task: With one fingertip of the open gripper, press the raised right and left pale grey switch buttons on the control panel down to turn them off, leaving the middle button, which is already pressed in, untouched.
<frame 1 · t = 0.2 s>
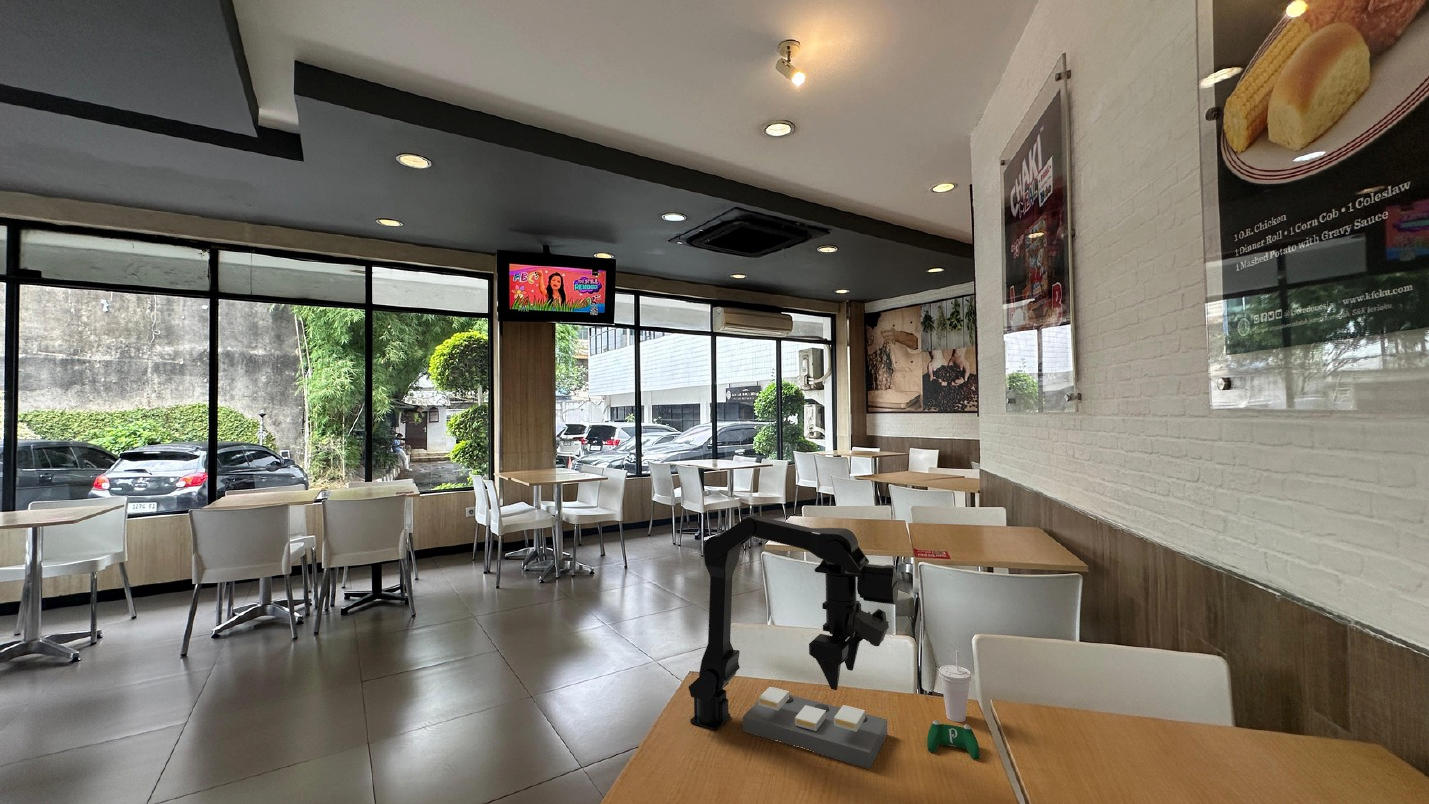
hand: (842, 679, 110), 14 cm above the table, tool pointing down, fingers open, 9 cm apart
control panel: (814, 732, 118), on the table
left button: (773, 698, 120), point 6 cm above the table, slide at 2.0 cm
right button: (849, 717, 112), point 6 cm above the table, slide at 2.0 cm
gaming controller: (952, 750, 112), on the table
middle button: (810, 717, 116), point 4 cm above the table, slide at 0.0 cm
smoothie: (956, 718, 123), on the table
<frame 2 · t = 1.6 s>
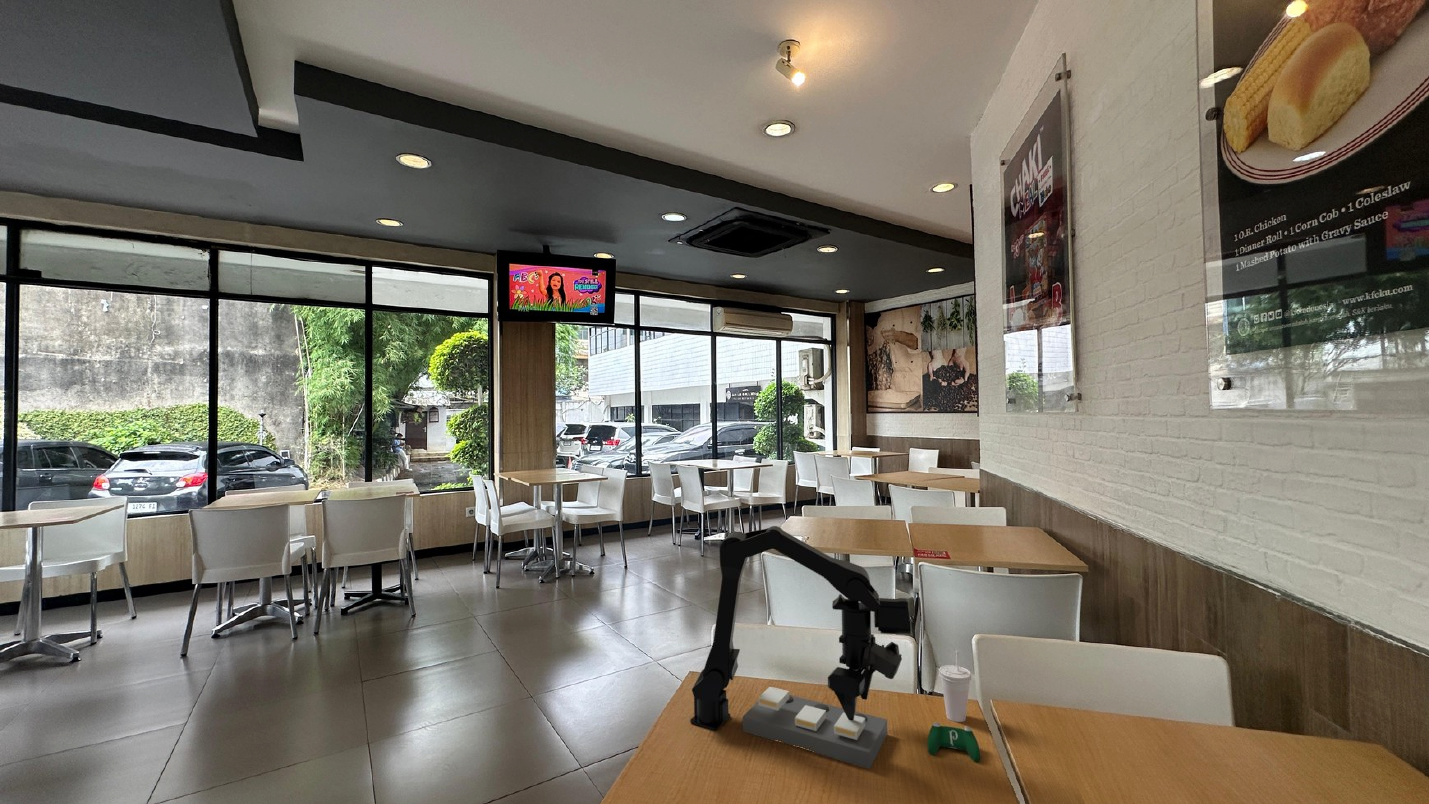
hand: (857, 708, 117), 5 cm above the table, tool pointing down, fingers open, 9 cm apart
right button: (849, 725, 112), point 4 cm above the table, slide at 0.5 cm, touching gripper
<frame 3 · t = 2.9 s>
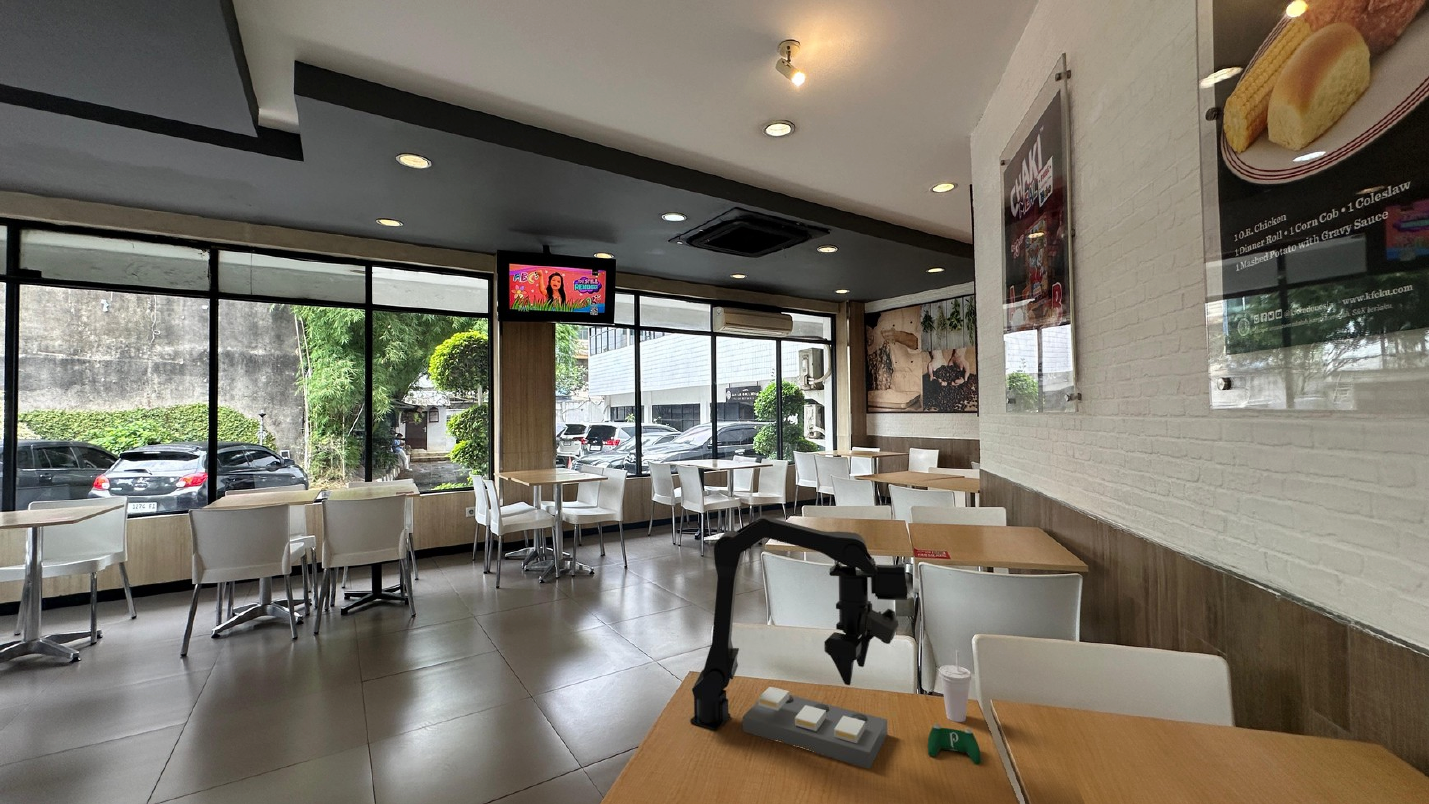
hand: (854, 675, 117), 12 cm above the table, tool pointing down, fingers open, 9 cm apart
right button: (849, 729, 112), point 4 cm above the table, slide at -0.1 cm
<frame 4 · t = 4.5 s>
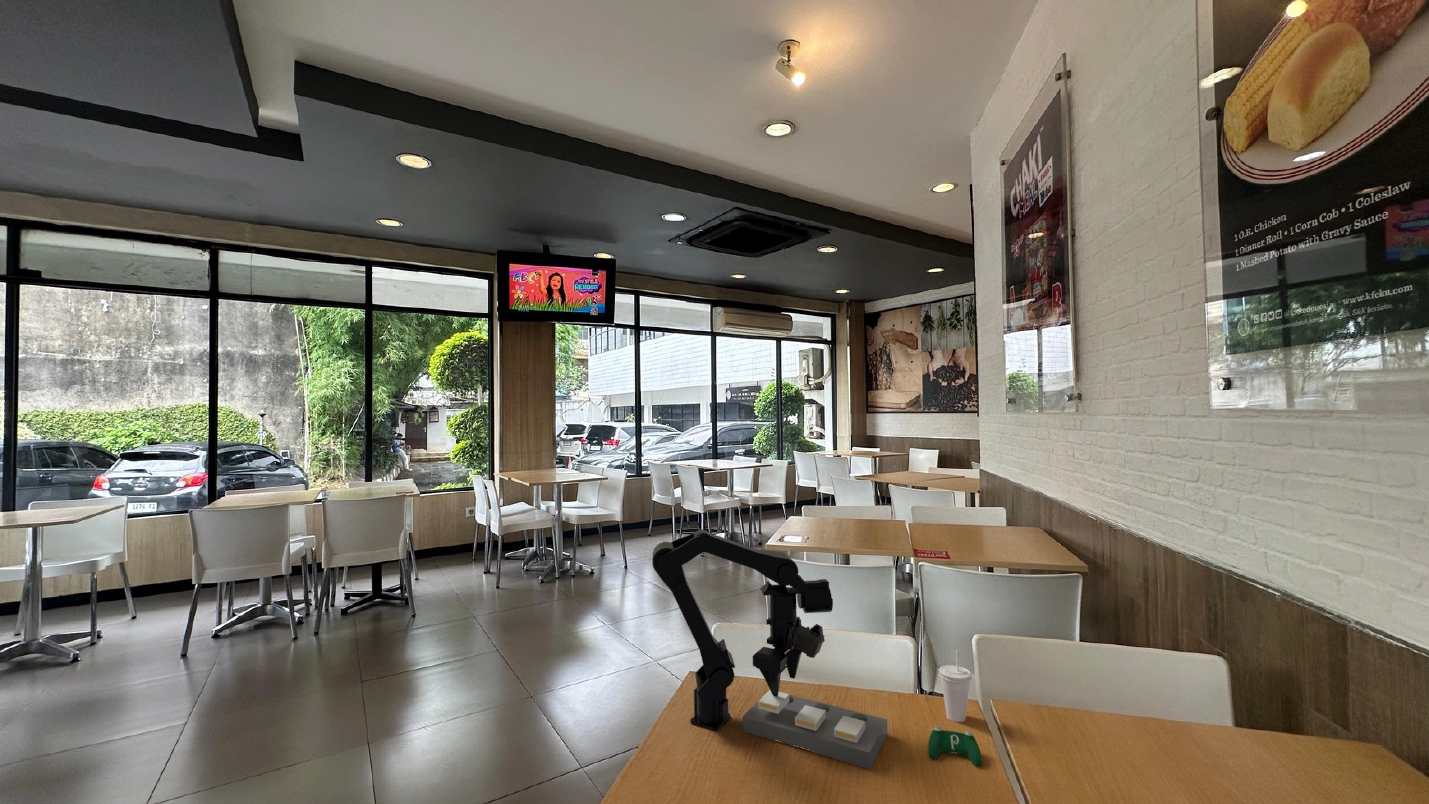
hand: (784, 686, 125), 6 cm above the table, tool pointing down, fingers open, 9 cm apart
left button: (773, 701, 120), point 5 cm above the table, slide at 1.4 cm, touching gripper
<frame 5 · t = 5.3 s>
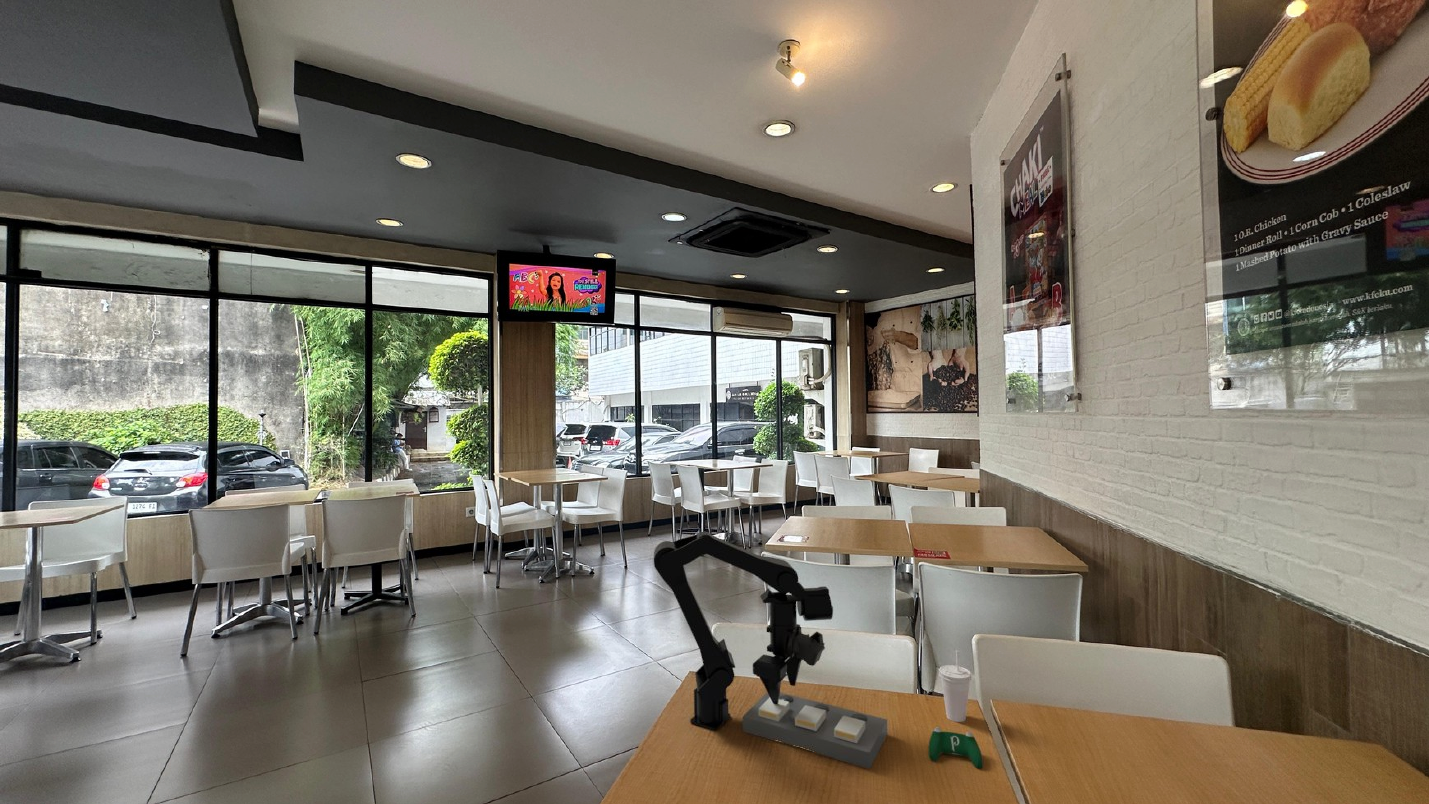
hand: (784, 694, 125), 4 cm above the table, tool pointing down, fingers open, 9 cm apart
left button: (773, 709, 120), point 4 cm above the table, slide at -0.2 cm, touching gripper, control panel
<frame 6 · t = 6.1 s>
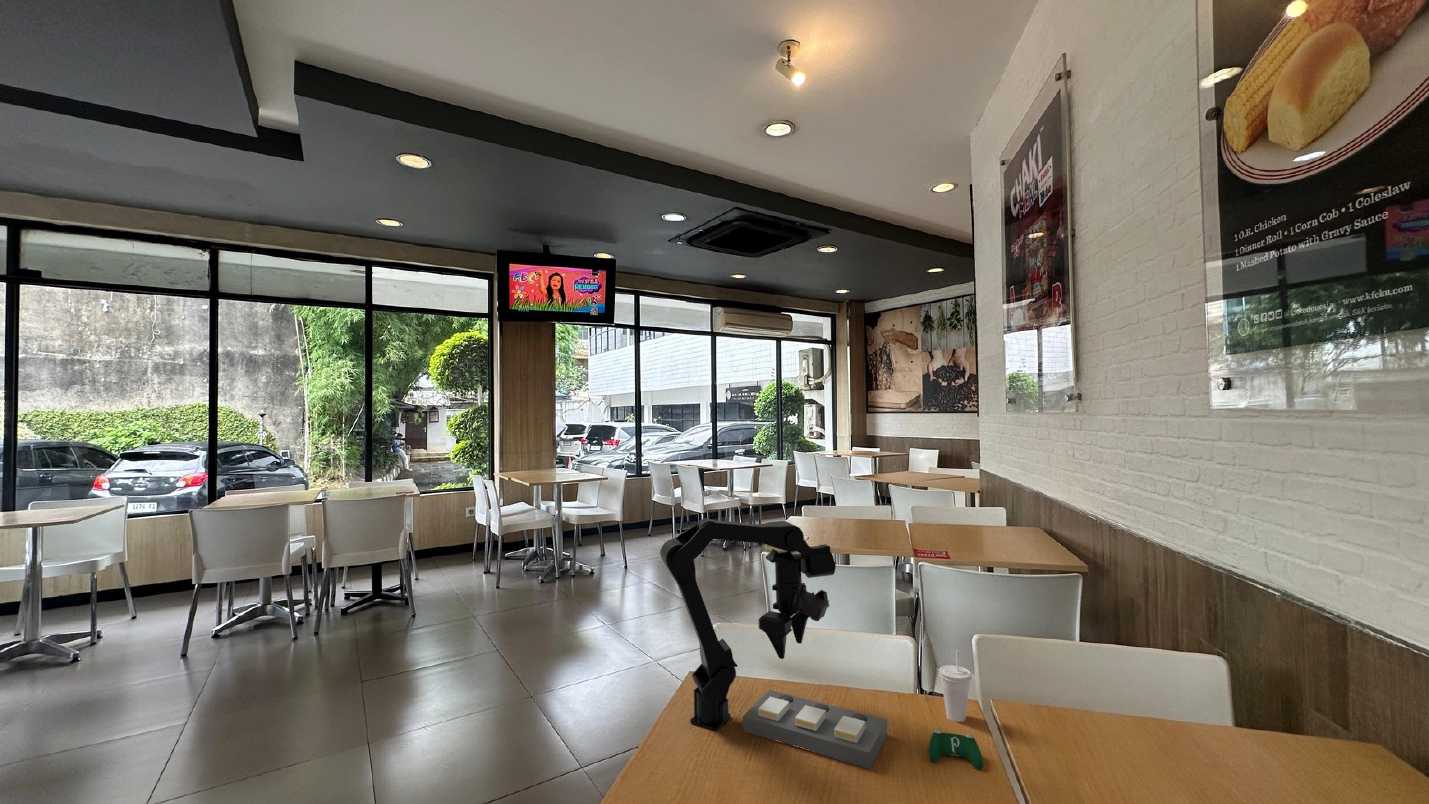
hand: (790, 650, 128), 12 cm above the table, tool pointing down, fingers open, 9 cm apart
left button: (773, 708, 120), point 4 cm above the table, slide at -0.1 cm
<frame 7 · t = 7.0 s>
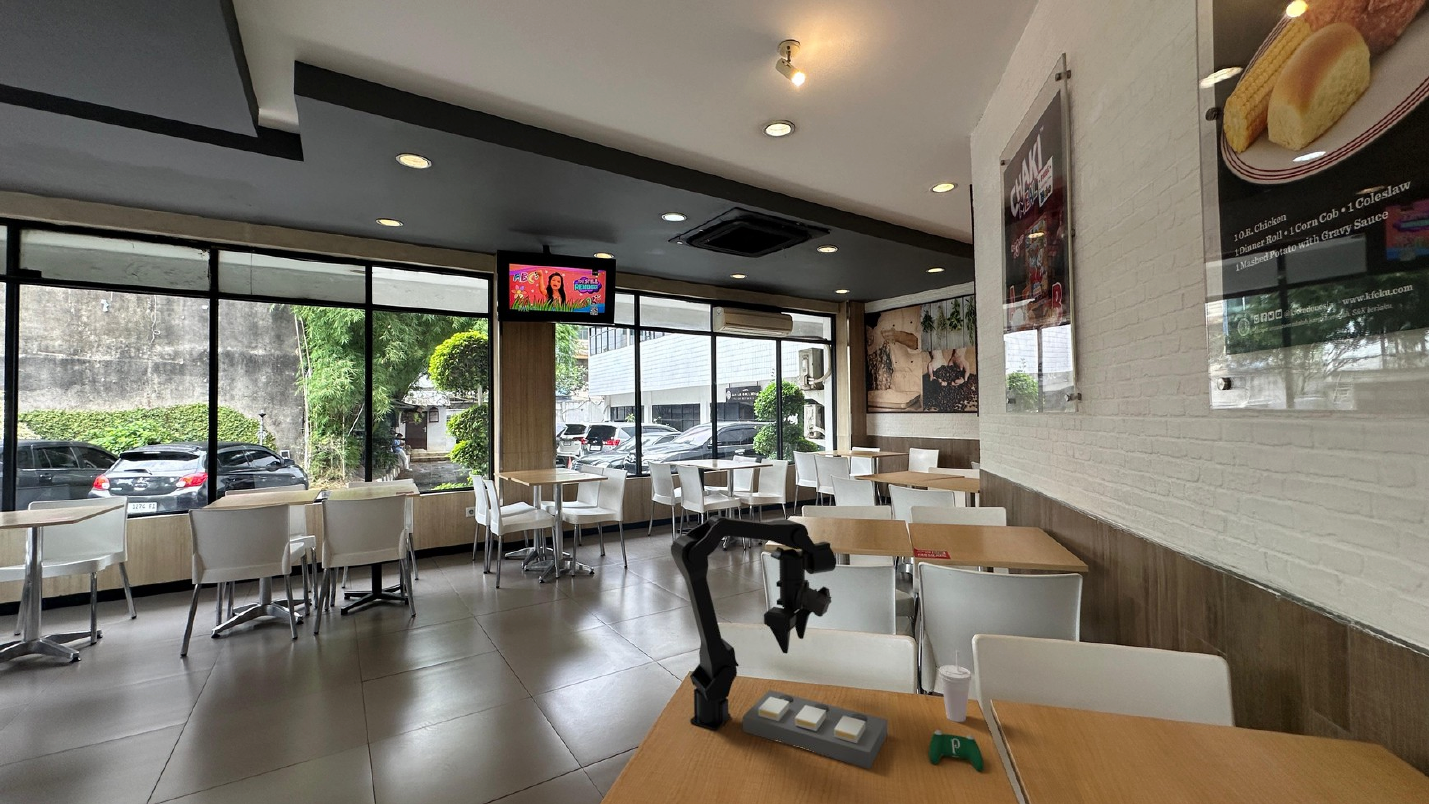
hand: (793, 645, 132), 12 cm above the table, tool pointing down, fingers open, 9 cm apart
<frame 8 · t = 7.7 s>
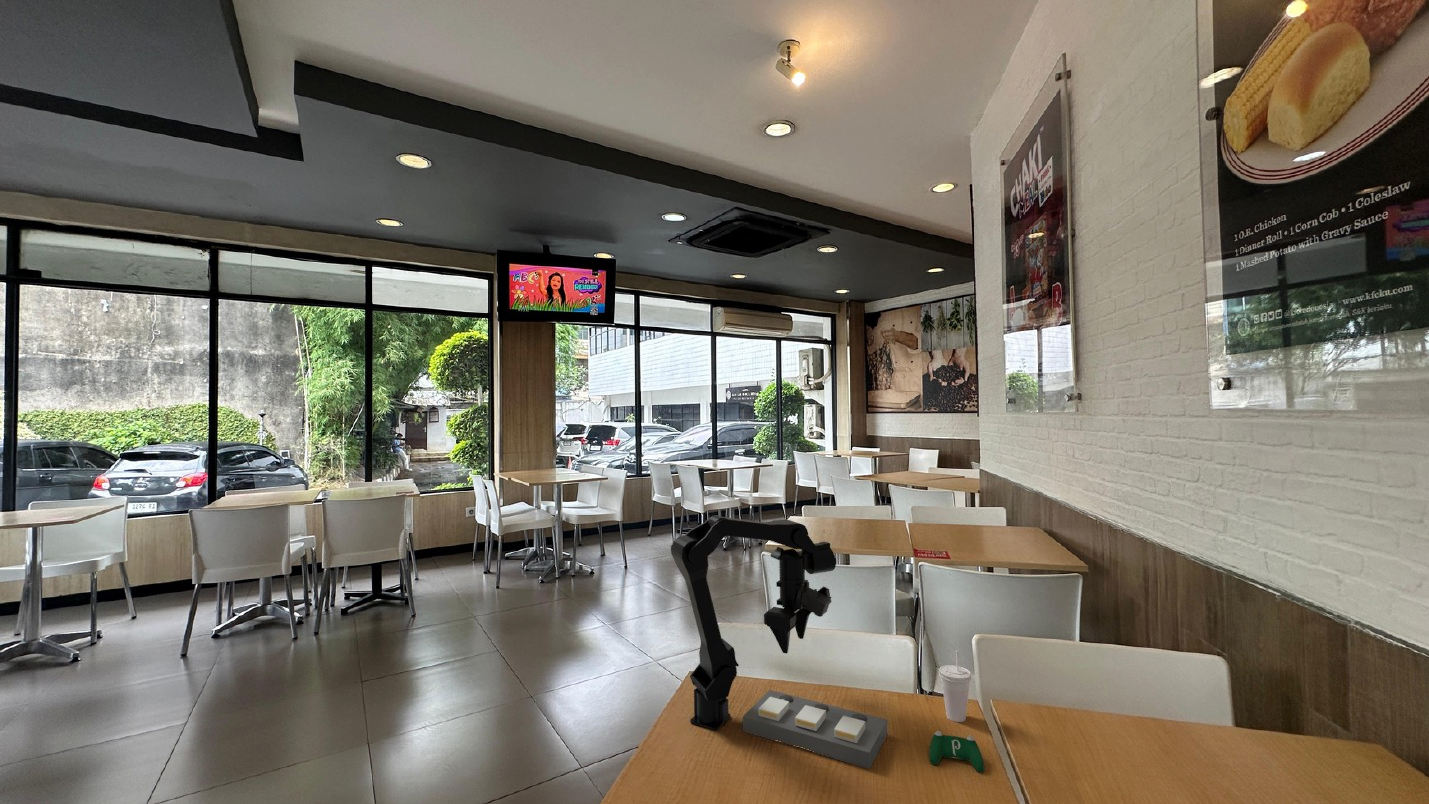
hand: (793, 645, 132), 12 cm above the table, tool pointing down, fingers open, 9 cm apart
at the end: right button slide at -0.1 cm; left button slide at -0.1 cm; middle button slide at 0.0 cm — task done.
